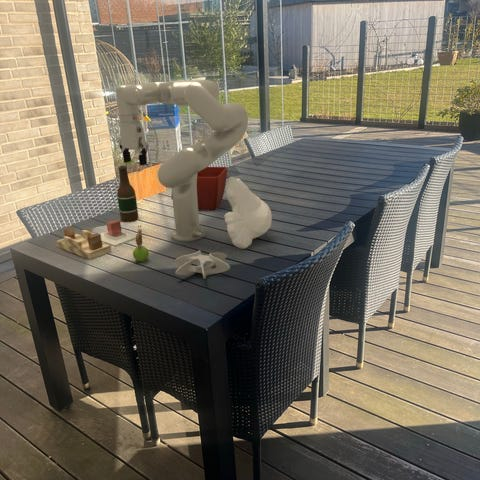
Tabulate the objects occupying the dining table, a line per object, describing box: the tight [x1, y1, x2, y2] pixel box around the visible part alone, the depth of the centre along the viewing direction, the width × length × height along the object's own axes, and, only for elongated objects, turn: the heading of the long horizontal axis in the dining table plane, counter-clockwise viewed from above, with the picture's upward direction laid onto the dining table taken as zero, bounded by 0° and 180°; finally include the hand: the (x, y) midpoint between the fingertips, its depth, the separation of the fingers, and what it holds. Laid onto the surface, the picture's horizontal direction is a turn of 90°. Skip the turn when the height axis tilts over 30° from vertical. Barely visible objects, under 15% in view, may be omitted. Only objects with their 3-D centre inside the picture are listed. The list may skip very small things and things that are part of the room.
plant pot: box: [197, 166, 228, 211], centre depth 222 cm, size 19×19×17 cm
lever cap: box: [104, 219, 127, 240], centre depth 191 cm, size 8×5×6 cm, turn 48°
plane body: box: [56, 227, 112, 261], centre depth 180 cm, size 22×9×8 cm, turn 50°
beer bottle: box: [116, 165, 139, 223], centre depth 208 cm, size 8×8×24 cm
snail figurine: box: [132, 225, 150, 262], centre depth 167 cm, size 5×6×12 cm
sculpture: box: [174, 249, 231, 280], centre depth 157 cm, size 18×20×6 cm
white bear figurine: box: [224, 176, 273, 250], centre depth 177 cm, size 25×16×25 cm
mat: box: [100, 230, 136, 247], centre depth 191 cm, size 16×11×1 cm
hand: (135, 163), depth 187 cm, fingers open, 9 cm apart
